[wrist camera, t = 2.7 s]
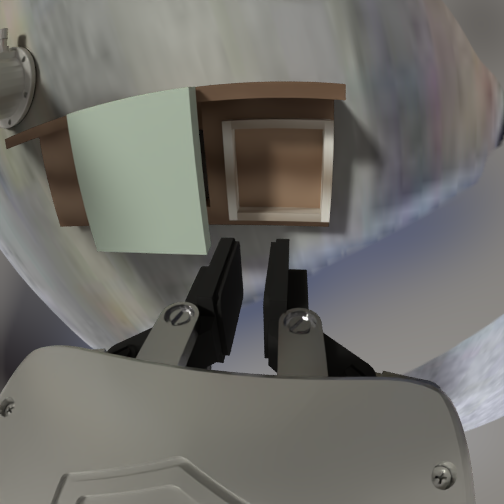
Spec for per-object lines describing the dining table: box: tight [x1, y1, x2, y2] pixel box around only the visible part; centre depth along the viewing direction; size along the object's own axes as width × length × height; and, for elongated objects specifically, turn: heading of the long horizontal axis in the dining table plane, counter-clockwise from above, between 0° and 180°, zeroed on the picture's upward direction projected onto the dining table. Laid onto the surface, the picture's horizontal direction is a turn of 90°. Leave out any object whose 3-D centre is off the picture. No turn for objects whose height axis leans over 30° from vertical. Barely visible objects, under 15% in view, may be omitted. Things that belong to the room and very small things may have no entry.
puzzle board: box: [5, 82, 346, 227], centre depth 26 cm, size 14×34×8 cm, turn 93°
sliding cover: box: [67, 87, 211, 255], centre depth 22 cm, size 13×11×2 cm
